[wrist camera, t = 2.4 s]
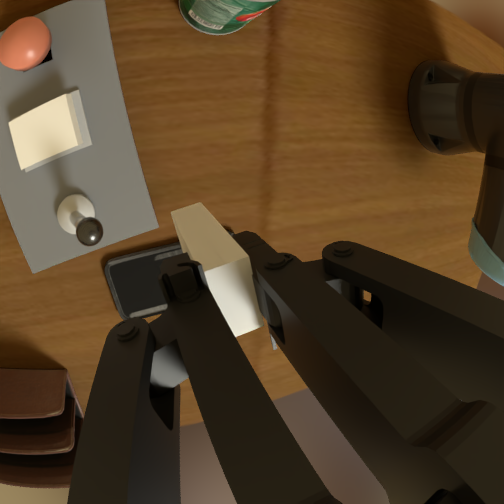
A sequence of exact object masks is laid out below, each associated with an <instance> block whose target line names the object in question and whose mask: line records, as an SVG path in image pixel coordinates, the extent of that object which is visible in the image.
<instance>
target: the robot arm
mask: <svg viewBox="0 0 504 504" xmlns="http://www.w3.org/2000/svg"><path fill="white" fill-rule="evenodd" d="M408 105H409V114H410V119H411V123H412V126H413V129H414V132H415V134H416V136H417V138H418V139H419V141H420V142H421V144H422V145H423V146H424V147H425V148H426V149H428V150H429V151H431V152H434V153H438V154H442V155H455V154H461V153H468V152H475V151H477V152H482V153H485V154H486V155H485V162H484V169H483V175H482V181H481V187H480V192H479V197H478V202H477V206H476V211H475V215H474V217H473V218H472V229H471V234H470V239H469V243H468V249H469V253H470V256H471V258H472V260H473V261H474V262H475V264H476V265H477V266H478V267H479V268H480V269H481V270H482V271H483V272H484V273H485V274H486V275H488V276H489V277H490V278H491V279H493V280H494V281H496V282H497V283H499V284H501V285H502V286H504V74H494V73H480V72H473V71H471V70H468V69H466V68H464V67H461V66H458V65H456V64H453V63H451V62H448V61H444V60H428V61H425V62H423V63H421V64H420V65H419V66H418V67H417V69H416V70H415V72H414V74H413V76H412V79H411V82H410V86H409V94H408ZM171 215H172V218H173V221H174V225H175V228H176V231H177V235H178V238H179V241H180V244H181V247H182V251H183V253H182V254H179V255H177V256H174V257H171V258H168V259H165V260H163V262H162V264H161V266H160V271H161V273H160V274H159V275H158V282H159V285H160V287H161V290H162V293H163V295H164V298H165V300H166V302H167V309H166V310H165V312H164V313H163V314H162V315H161V316H160V317H158V318H157V319H155V320H154V321H152V322H150V323H149V324H148V322H147V321H146V320H145V319H141V318H130V319H127V320H124V321H122V322H120V323H118V324H117V325H115V326H114V327H113V328H112V329H111V330H110V332H109V334H108V336H107V338H106V341H105V344H104V348H103V351H102V354H101V357H100V361H99V364H98V367H97V371H96V374H95V378H94V381H93V385H92V388H91V392H90V396H89V400H88V404H87V407H86V411H85V416H84V420H83V424H82V428H81V433H80V437H79V442H78V446H77V451H76V456H75V461H74V466H73V472H72V477H71V483H70V489H69V496H68V502H67V504H181V497H180V385H179V383H181V382H182V381H184V380H185V379H187V378H188V377H189V380H190V383H191V386H192V389H193V392H194V395H195V398H196V400H197V403H198V406H199V409H200V412H201V415H202V418H203V420H204V423H205V426H206V428H207V431H208V434H209V436H210V439H211V442H212V444H213V447H214V449H215V452H216V455H217V457H218V460H219V462H220V465H221V467H222V469H223V472H224V474H225V477H226V479H227V481H228V484H229V486H230V488H231V490H232V493H233V495H234V497H235V500H236V502H237V504H342V503H341V502H340V501H338V500H337V499H335V498H334V497H333V496H332V495H331V494H330V492H329V491H328V489H327V488H326V487H325V485H324V483H323V482H322V480H321V479H320V477H319V476H318V474H317V473H316V471H315V470H314V468H313V467H312V465H311V464H310V462H309V460H308V459H307V457H306V456H305V454H304V453H303V451H302V450H301V448H300V446H299V445H298V443H297V442H296V440H295V438H294V437H293V435H292V433H291V432H290V430H289V429H288V427H287V425H286V424H285V422H284V420H283V419H282V417H281V415H280V414H279V412H278V410H277V409H276V407H275V405H274V404H273V402H272V400H271V399H270V397H269V395H268V394H267V392H266V390H265V388H264V387H263V385H262V383H261V382H260V380H259V378H258V376H257V375H256V373H255V371H254V369H253V368H252V366H251V364H250V362H249V361H248V359H247V357H246V355H245V354H244V352H243V350H242V348H241V346H240V345H239V343H238V341H237V339H236V337H237V336H239V335H242V334H244V333H247V332H249V331H252V330H254V329H257V328H259V327H262V326H264V322H263V318H262V315H263V316H264V318H265V319H266V320H267V323H268V328H269V333H270V337H271V342H272V346H273V349H274V350H275V349H277V347H276V343H277V344H278V346H279V347H280V349H281V350H282V351H283V353H284V354H285V356H286V357H287V358H288V360H289V361H290V363H291V364H292V365H293V367H294V368H295V370H296V371H297V372H298V374H299V375H300V377H301V378H302V379H303V381H304V382H305V384H306V385H307V386H308V388H309V389H310V390H311V392H312V393H313V395H314V396H315V397H316V399H317V400H318V401H319V403H320V404H321V406H322V407H323V408H324V409H325V411H326V412H327V414H328V415H329V416H330V418H331V419H332V420H333V422H334V423H335V425H336V426H337V427H338V428H339V430H340V431H341V433H342V434H343V435H344V437H345V438H346V439H347V440H348V442H349V443H350V445H351V446H352V447H353V449H354V450H355V451H356V452H357V454H358V455H359V456H360V458H361V459H362V460H363V462H364V463H365V464H366V466H367V467H368V468H369V470H370V471H371V472H372V473H373V475H374V476H375V477H376V479H377V480H378V481H379V482H380V484H381V485H382V486H383V488H384V489H385V490H386V493H387V495H388V498H389V502H390V504H504V301H503V300H501V299H499V298H496V297H494V296H491V295H489V294H487V293H484V292H482V291H479V290H477V289H475V288H472V287H470V286H467V285H465V284H462V283H460V282H458V281H455V280H453V279H450V278H448V277H445V276H443V275H440V274H437V273H435V272H432V271H430V270H427V269H425V268H422V267H419V266H417V265H414V264H412V263H409V262H406V261H404V260H401V259H399V258H396V257H393V256H391V255H388V254H385V253H382V252H380V251H377V250H374V249H372V248H369V247H366V246H363V245H361V244H358V243H355V242H350V241H338V242H333V243H331V244H329V245H327V246H326V247H325V248H323V251H322V259H320V260H315V261H309V262H302V261H301V260H299V259H298V258H297V257H296V256H294V255H292V254H289V253H277V252H276V251H275V250H274V249H273V248H272V247H271V246H269V245H268V244H267V243H266V242H265V241H264V240H263V239H261V237H259V236H258V235H257V234H256V233H253V232H249V231H244V232H241V233H238V234H235V235H232V236H230V234H229V233H228V232H227V231H226V230H225V229H224V228H223V227H222V226H221V224H220V223H219V222H218V221H217V220H216V219H215V218H214V217H213V216H212V214H211V213H210V212H209V211H208V210H207V209H206V208H205V207H204V206H203V204H202V203H201V202H200V203H196V204H193V205H190V206H187V207H184V208H181V209H178V210H175V211H172V212H171ZM364 290H365V291H367V292H370V293H371V302H369V301H366V300H364V299H363V298H364ZM461 400H462V401H461Z"/></svg>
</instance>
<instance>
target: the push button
mask: <svg viewBox="0 0 504 504" xmlns="http://www.w3.org/2000/svg"><path fill="white" fill-rule="evenodd" d="M51 44H52V35H51V32H50V30H49V28H48V27H47V26H46V25H45V24H44V23H43V22H42V21H41V20H40V19H38V18H36V17H25V18H22V19H19V20H17V21H16V22H14V23H13V24H12V25H10V26H9V27H8V28H7V30H6V31H5V32H4V34H3V35H2V37H1V39H0V61H1V63H2V64H3V65H5V66H6V67H9V68H11V69H14V70H16V71H27V70H30V69H32V68H34V67H36V66H37V65H38V64H40V63H41V62H42V61H43V60H44V58H45V57H46V56H47V54H48V52H49V50H50V48H51Z"/></svg>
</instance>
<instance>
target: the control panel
mask: <svg viewBox="0 0 504 504" xmlns="http://www.w3.org/2000/svg"><path fill="white" fill-rule="evenodd" d="M32 17H36V18H38V19H40V20H41V21H42V22H43V23H44V24H45V25H46V26H47V27H48V28H49V30H50V32H51V35H52V44H51V52H52V58H53V60H50V61H48V62H46V63H43V64H41V65H39V66H37V67H34V68H32V69H30V70H27V71H16V70H14V69H11V68H9V67H6V66H5V65H3V64H2V63H1V61H0V195H1V198H2V201H3V203H4V206H5V209H6V212H7V214H8V217H9V220H10V222H11V225H12V227H13V230H14V232H15V235H16V237H17V239H18V242H19V244H20V246H21V249H22V251H23V253H24V255H25V258H26V260H27V262H28V264H29V266H30V268H31V270H32V272H33V274H34V273H37V272H39V271H42V270H44V269H47V268H49V267H52V266H54V265H57V264H59V263H62V262H65V261H67V260H70V259H72V258H75V257H78V256H80V255H83V254H86V253H88V252H91V251H94V250H96V249H99V248H102V247H104V246H107V245H110V244H113V243H116V242H118V241H121V240H124V239H127V238H130V237H132V236H135V235H138V234H141V233H144V232H147V231H150V230H153V229H156V228H158V227H159V225H158V222H157V218H156V215H155V211H154V208H153V205H152V202H151V198H150V195H149V192H148V188H147V185H146V181H145V178H144V174H143V171H142V167H141V164H140V160H139V157H138V153H137V149H136V145H135V142H134V138H133V134H132V130H131V126H130V122H129V118H128V114H127V110H126V106H125V101H124V97H123V93H122V88H121V84H120V79H119V74H118V70H117V65H116V60H115V55H114V50H113V45H112V39H111V34H110V28H109V22H108V16H107V10H106V3H105V0H72V1H69V2H66V3H64V4H61V5H58V6H56V7H53V8H51V9H48V10H46V11H44V12H41V13H39V14H37V15H35V16H32ZM6 30H7V29H6ZM6 30H4V31H2V32H0V39H1V37H2V35H3V34H4V32H5V31H6ZM64 94H71V95H72V100H73V104H74V109H75V113H76V117H77V121H78V125H79V129H80V133H81V137H82V140H83V144H80V145H78V146H75V147H72V148H70V149H68V150H65V151H63V152H60V153H58V154H56V155H53V156H51V157H49V158H46V159H44V160H42V161H40V162H37V163H35V164H33V165H31V166H29V167H27V168H24V169H22V170H21V168H20V165H19V162H18V158H17V155H16V151H15V147H14V143H13V140H12V136H11V132H10V127H9V122H10V121H12V120H14V119H16V118H18V117H19V116H21V115H23V114H25V113H27V112H29V111H31V110H33V109H35V108H37V107H39V106H41V105H43V104H45V103H47V102H49V101H51V100H53V99H55V98H57V97H59V96H62V95H64ZM73 211H79V212H80V213H82V214H83V215H84V216H85V217H94V218H96V219H98V220H99V221H100V222H101V224H102V226H103V237H102V239H101V241H100V242H99V243H98V244H96V245H94V246H85V245H83V244H81V243H80V242H79V241H78V239H77V237H76V228H75V227H74V226H73V224H72V223H71V222H70V219H69V216H70V214H71V212H73Z"/></svg>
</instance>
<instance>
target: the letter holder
mask: <svg viewBox="0 0 504 504" xmlns="http://www.w3.org/2000/svg"><path fill="white" fill-rule="evenodd" d="M83 420H84V414H83V412H82V409H81V406H80V404H79V401H78V398H77V396H76V393H75V390H74V388H73V385H72V382H71V379H70V377H69V374H68V371H67V369H64V370H60V369H59V370H57V369H55V370H47V369H46V370H45V369H44V370H43V369H42V370H37V369H4V368H0V483H2V484H6V485H13V486H20V487H30V488H69V487H70V483H71V477H72V472H73V466H74V461H75V456H76V451H77V446H78V442H79V437H80V433H81V428H82V424H83Z"/></svg>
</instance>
